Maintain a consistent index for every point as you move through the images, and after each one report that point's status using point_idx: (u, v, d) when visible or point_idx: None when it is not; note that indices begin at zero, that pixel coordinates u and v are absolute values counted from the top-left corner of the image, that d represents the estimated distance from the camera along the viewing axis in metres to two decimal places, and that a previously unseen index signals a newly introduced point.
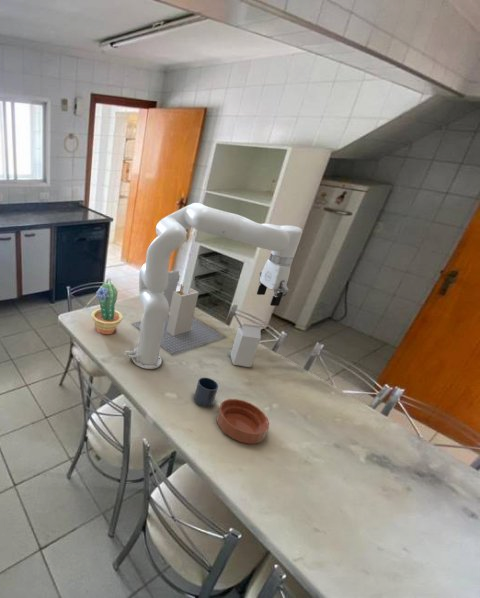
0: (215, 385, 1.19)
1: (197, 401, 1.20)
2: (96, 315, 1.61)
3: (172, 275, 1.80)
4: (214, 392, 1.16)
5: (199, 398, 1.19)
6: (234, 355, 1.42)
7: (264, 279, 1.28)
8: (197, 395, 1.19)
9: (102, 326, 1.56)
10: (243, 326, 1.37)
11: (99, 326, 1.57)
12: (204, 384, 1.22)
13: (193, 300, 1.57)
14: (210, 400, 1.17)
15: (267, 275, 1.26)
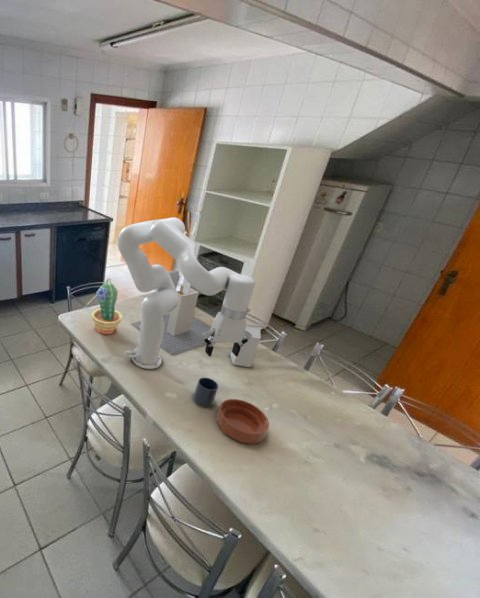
0: (215, 385, 1.19)
1: (197, 401, 1.20)
2: (96, 315, 1.61)
3: (172, 275, 1.80)
4: (214, 392, 1.16)
5: (199, 398, 1.19)
6: (234, 355, 1.42)
7: None
8: (197, 395, 1.19)
9: (102, 326, 1.56)
10: None
11: (99, 326, 1.57)
12: (204, 384, 1.22)
13: (193, 300, 1.57)
14: (210, 400, 1.17)
15: None
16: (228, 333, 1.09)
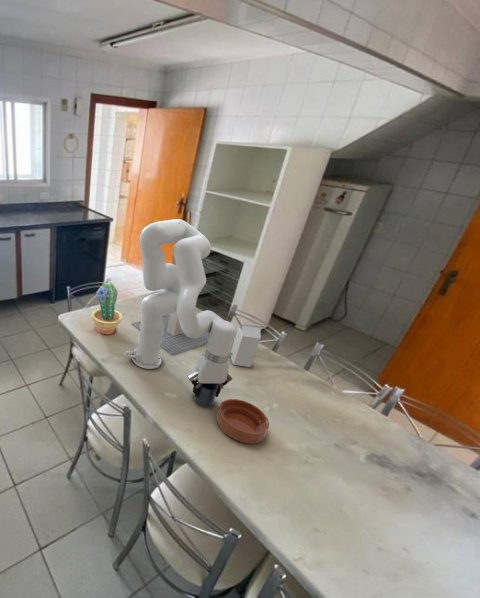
0: (215, 385, 1.19)
1: (197, 401, 1.20)
2: (96, 315, 1.61)
3: None
4: (214, 392, 1.16)
5: (199, 398, 1.19)
6: (234, 355, 1.42)
7: None
8: None
9: (102, 326, 1.56)
10: (243, 326, 1.37)
11: (99, 326, 1.57)
12: (205, 384, 1.22)
13: None
14: (210, 400, 1.17)
15: None
16: (211, 375, 1.13)
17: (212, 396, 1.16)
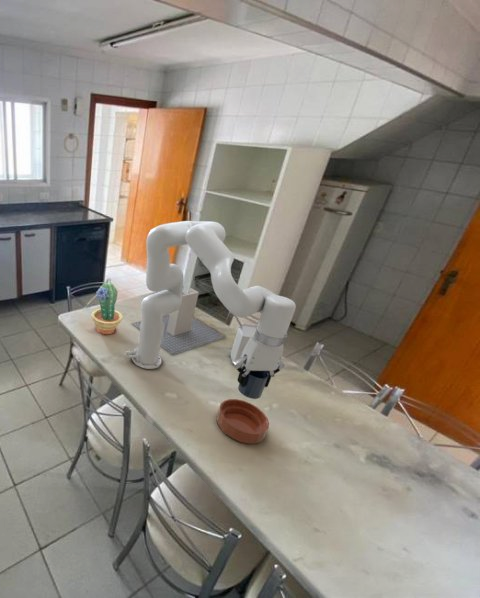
0: (264, 373, 1.03)
1: (243, 392, 1.03)
2: (96, 315, 1.61)
3: None
4: (265, 381, 1.00)
5: (246, 388, 1.02)
6: (234, 355, 1.42)
7: None
8: None
9: (102, 326, 1.56)
10: (243, 326, 1.37)
11: (99, 326, 1.57)
12: (251, 372, 1.06)
13: (193, 300, 1.57)
14: (260, 391, 1.01)
15: None
16: (262, 361, 0.97)
17: (262, 386, 1.00)
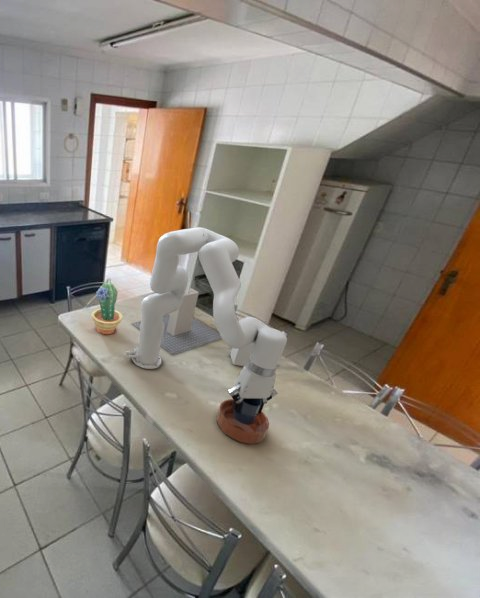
0: (258, 400, 1.07)
1: (237, 418, 1.07)
2: (96, 315, 1.61)
3: None
4: (258, 408, 1.04)
5: (240, 414, 1.06)
6: (234, 355, 1.42)
7: None
8: None
9: (102, 326, 1.56)
10: None
11: (99, 326, 1.57)
12: (245, 398, 1.10)
13: (193, 300, 1.57)
14: (253, 417, 1.05)
15: None
16: (255, 389, 1.01)
17: (255, 412, 1.04)
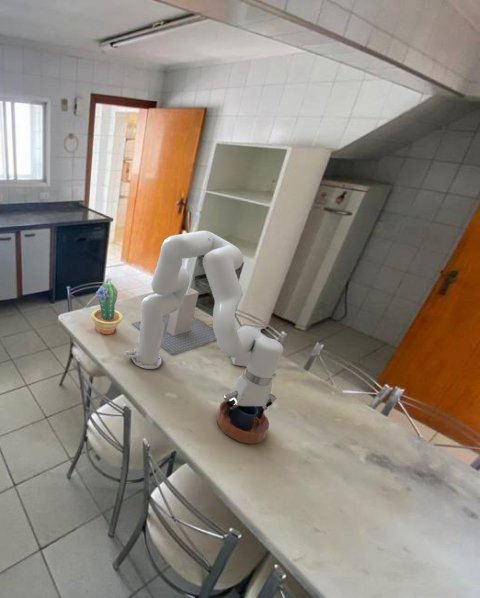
0: (254, 409, 1.08)
1: None
2: (96, 315, 1.61)
3: None
4: (254, 417, 1.05)
5: (237, 423, 1.08)
6: None
7: None
8: (234, 419, 1.09)
9: (102, 326, 1.56)
10: None
11: (99, 326, 1.57)
12: (241, 407, 1.12)
13: (193, 300, 1.57)
14: (250, 426, 1.07)
15: None
16: (252, 397, 1.03)
17: (252, 421, 1.06)
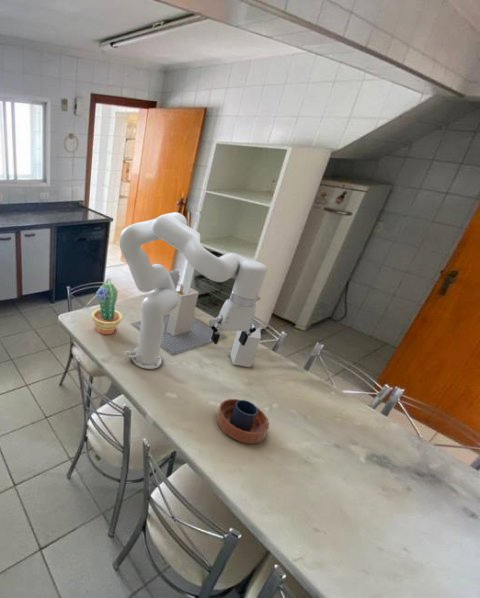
0: (254, 409, 1.08)
1: None
2: (96, 315, 1.61)
3: (172, 275, 1.80)
4: (254, 417, 1.05)
5: (237, 423, 1.08)
6: (234, 355, 1.42)
7: None
8: (234, 420, 1.09)
9: (102, 326, 1.56)
10: None
11: (99, 326, 1.57)
12: (241, 407, 1.12)
13: (193, 300, 1.57)
14: (250, 426, 1.07)
15: None
16: (236, 321, 1.06)
17: (252, 421, 1.06)
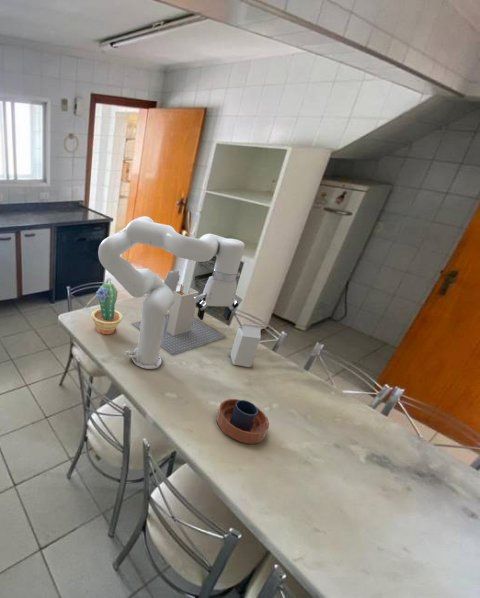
0: (254, 409, 1.08)
1: None
2: (96, 315, 1.61)
3: (172, 275, 1.80)
4: (254, 417, 1.05)
5: (237, 423, 1.08)
6: (234, 355, 1.42)
7: None
8: (234, 420, 1.09)
9: (102, 326, 1.56)
10: (243, 326, 1.37)
11: (99, 326, 1.57)
12: (241, 407, 1.12)
13: (193, 300, 1.57)
14: (250, 426, 1.07)
15: None
16: (219, 296, 1.13)
17: (252, 421, 1.06)
